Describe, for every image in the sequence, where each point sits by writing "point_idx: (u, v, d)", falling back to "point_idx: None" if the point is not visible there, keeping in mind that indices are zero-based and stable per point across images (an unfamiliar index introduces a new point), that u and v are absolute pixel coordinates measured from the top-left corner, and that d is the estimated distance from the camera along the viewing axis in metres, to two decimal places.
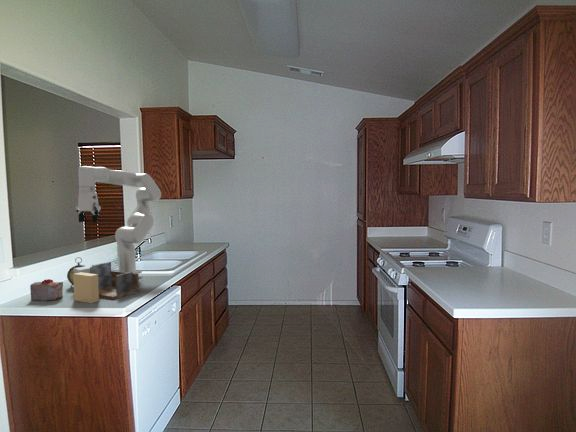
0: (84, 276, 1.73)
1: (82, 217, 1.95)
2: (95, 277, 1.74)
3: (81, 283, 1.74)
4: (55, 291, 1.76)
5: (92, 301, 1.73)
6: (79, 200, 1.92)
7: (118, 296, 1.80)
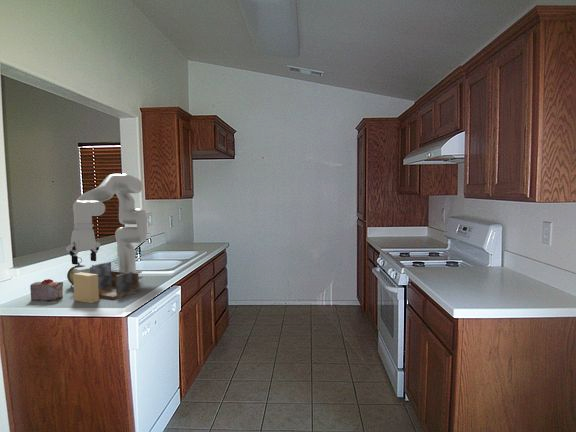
0: (84, 276, 1.73)
1: None
2: (95, 277, 1.74)
3: (81, 283, 1.74)
4: (55, 291, 1.76)
5: (92, 301, 1.73)
6: (80, 239, 1.70)
7: (118, 296, 1.80)
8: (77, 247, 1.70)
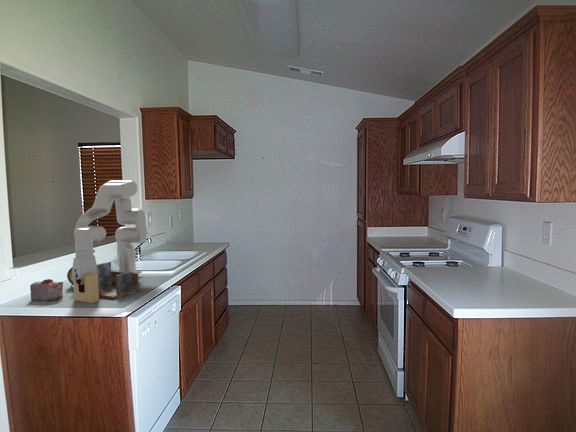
0: None
1: None
2: (95, 277, 1.74)
3: None
4: (55, 291, 1.76)
5: (92, 301, 1.73)
6: (82, 266, 1.72)
7: (118, 296, 1.80)
8: (79, 274, 1.71)
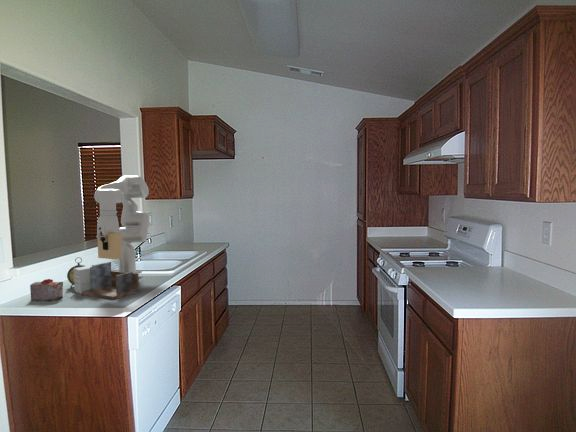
0: (108, 234, 1.85)
1: None
2: (118, 235, 1.85)
3: None
4: (55, 291, 1.76)
5: (115, 257, 1.84)
6: (106, 225, 1.83)
7: (118, 296, 1.80)
8: (103, 232, 1.82)
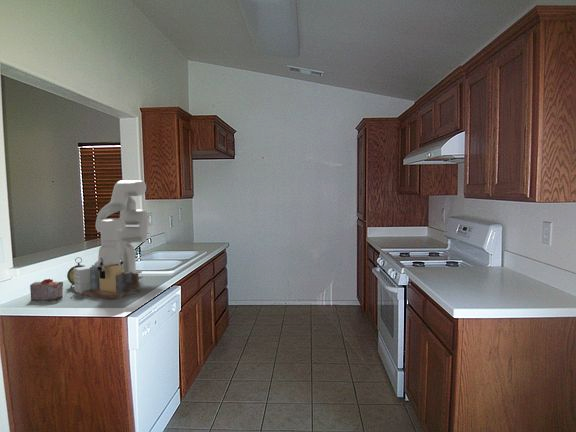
0: (109, 267, 1.86)
1: None
2: (119, 268, 1.87)
3: (106, 273, 1.87)
4: (56, 291, 1.77)
5: None
6: (107, 255, 1.84)
7: (118, 296, 1.80)
8: (104, 263, 1.83)
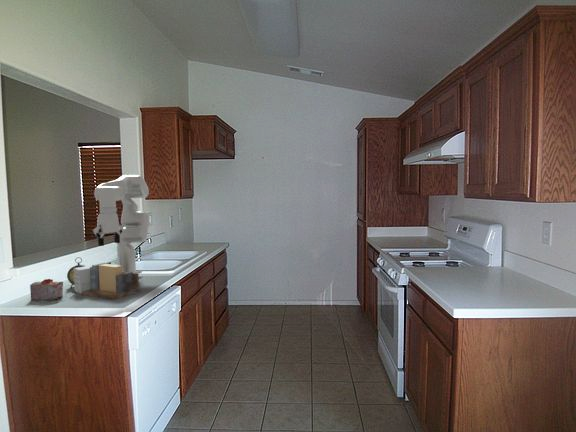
0: (109, 267, 1.86)
1: None
2: (119, 268, 1.87)
3: (106, 273, 1.87)
4: (56, 290, 1.77)
5: None
6: (106, 222, 1.83)
7: (118, 296, 1.80)
8: (103, 229, 1.82)
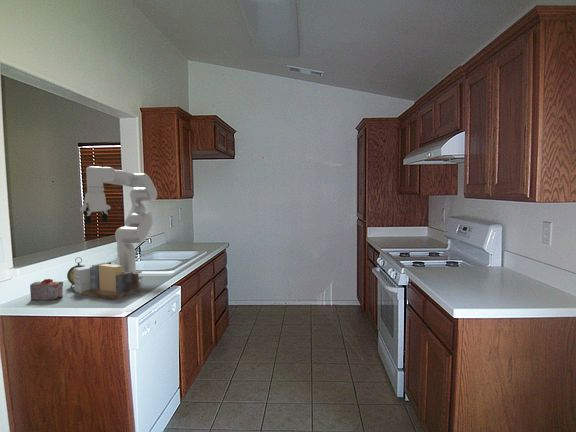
0: (109, 267, 1.86)
1: None
2: (119, 268, 1.87)
3: (106, 273, 1.87)
4: (56, 290, 1.77)
5: None
6: (93, 201, 1.87)
7: (118, 296, 1.80)
8: (90, 208, 1.86)
